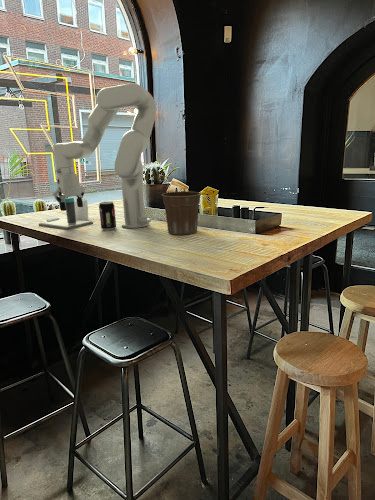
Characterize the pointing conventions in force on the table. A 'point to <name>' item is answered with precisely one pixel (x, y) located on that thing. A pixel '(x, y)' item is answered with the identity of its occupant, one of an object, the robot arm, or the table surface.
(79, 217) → the white cup
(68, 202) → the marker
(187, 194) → the plant pot
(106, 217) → the beverage can
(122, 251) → the table surface
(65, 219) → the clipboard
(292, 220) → the table surface
